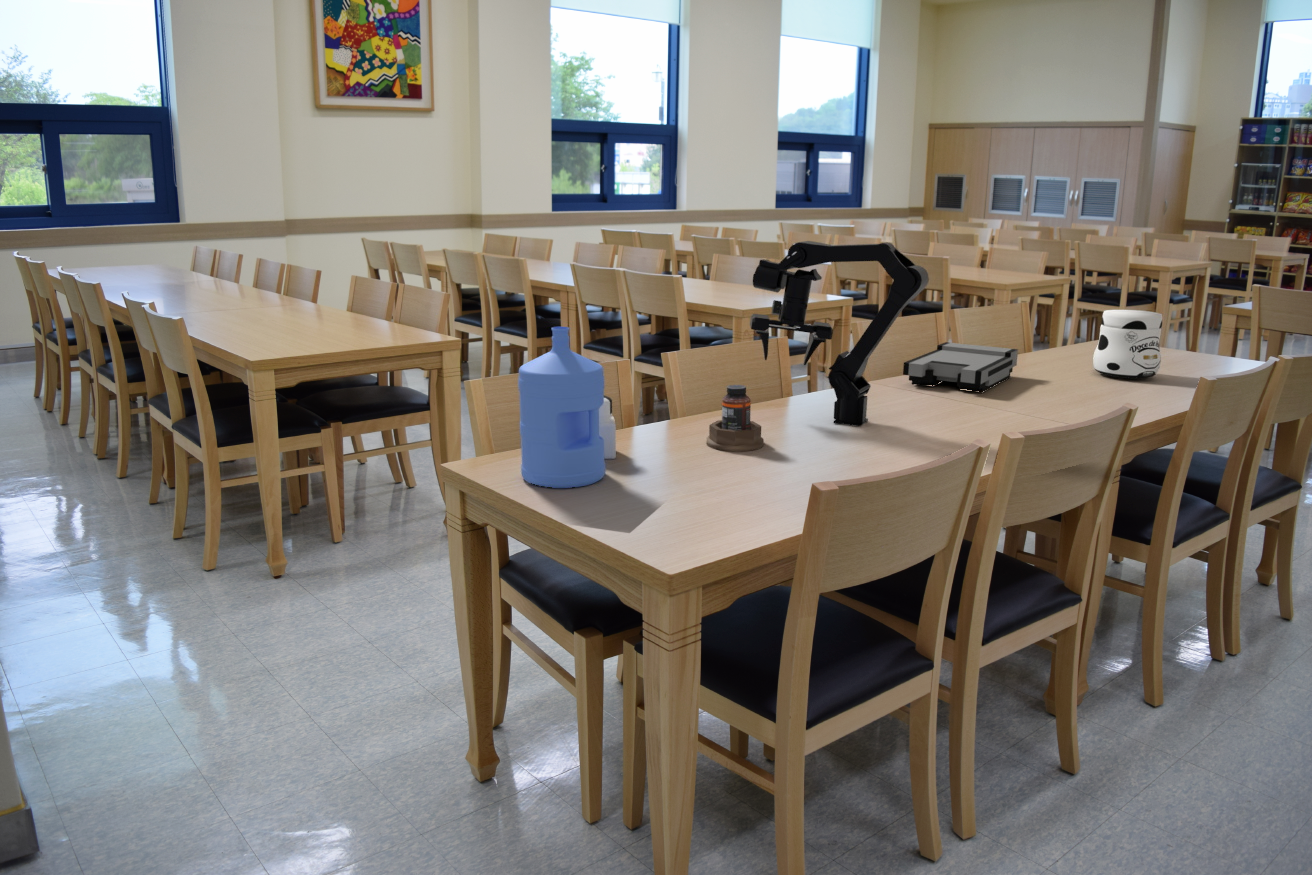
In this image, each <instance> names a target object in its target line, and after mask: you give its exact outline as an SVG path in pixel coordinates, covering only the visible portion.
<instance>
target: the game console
mask: <svg viewBox="0 0 1312 875" xmlns="http://www.w3.org/2000/svg"><path fill="white" fill-rule="evenodd" d="M1018 355H1019V348H1018V349H1017V348H1007V347H1000V346H999V347H998V346H997V347H996V346H987V345H977V344H965V343H958V342H957V343H956V342H947V341H945V342H942V343H939V344H938V345H937V346H936V349H935V350H932V351H930V352H926V353H924V354H922V355H920V356H917V357H914V358H912V359H909V360H907V361H904V362H903V367H902V368H903V370H902V375H903V376H908V381H911V384H912V385H914V384H919V385H918V386H922V385H932V386H933V385H936V384H938V383H939V382H941V381H945V382H952V383H956V387H958V388H959V390H960V389H967V390H972V391H979V392H983V391H985V390H987V389H989V388H990V387H993V386H994V385H996V384H998V383H999V382H1002V381H1004V380H1005V381H1007V380H1008V379H1007V378H1009V377H1011V373H1012V372H1013V370H1014V369H1013V368H1014V367H1017V366H1018ZM1006 379H1007V380H1006ZM1009 379H1010V378H1009ZM1005 381H1004V382H1005ZM1002 383H1003V382H1002ZM938 385H939V384H938ZM998 385H999V384H998ZM936 386H937V385H936ZM996 386H997V385H996ZM994 387H995V386H994ZM994 387H993V388H994ZM989 390H990V389H989ZM987 391H988V390H987ZM985 392H986V391H985ZM983 393H984V392H983Z"/></svg>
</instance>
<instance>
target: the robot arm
mask: <svg viewBox="0 0 1312 875" xmlns="http://www.w3.org/2000/svg"><path fill="white" fill-rule="evenodd" d="M848 262H849V263H850V262H852V263H853V262H854V263H855V262H878V263H879V264H880V265H881V267H882V268H883V269H884V271H885V273H887V275H888V276H889V277H890V278H891V279H892V282H891V285H890V288H889V291H888V294H887V297H886V300H885V301H884V303H883V304H882V306H881V307H880V309H879V311H878V312H877V313H876V315H875V316H874V318H873V319H872V321H871V322H870V323H869V325H868V326H867V328H866V329H865V331H864V332H863V334H862V335H861V336H860V338H859V340H858V341H857V342H856V344H855V345H854V347H853V348H852V350H850V352H849V350H845V351H843V352H841V353H839V354H838V355H837V357H836V359H835V361H834V363H833V364H832V365H831V366H830V367H828V370H829V373H828V376H827V378H828V379H827V380H828V383H829V385H830V386H831V388H833V390H834V394H835V397H836V400H835V401H834V403H833V405H834V408H833V422H832V423H833V424H837V425H845V426H854V427H862V426H864V425H865V424H866V423H867V422H868V421H869V418H867V410H868V409H867V408H868V395H867V394H868V393H869V391H870V389H871V388H872V387H871V384H870V383H869V382H868V381H867V380H866V379H865V377H864V376H863V375H864V372H865V370H866V367H867V365H868V360H870V359H869V358H870V357H871V355H872V354H873V353H874V351H875V350H876V348H877V347H878V345H879V344H880V342H881V341H882V340H883V339H884V337H885V335H886V334H887V332H888V331H889V330H890V328H891V327H892V325H893V324H894V323H895V321H896V319H897V318H898V317H899V315H900V314H901V312H903V309H904V308H905V307H907V305H908V304H910V303H911V302H912V301H913V300H914V299H915V298H916V297H917V296H918V295H919V294H920V293H922V291H924V290H925V288H926V287H927V286H928V284H929V280H930V278H929V273H928V272H927V270H926V269H925V268H924V267H923V266H921V265H916V263H914V262H913V261H912V260H911V259H910V258H909V257H907V256H906V255H904V254H903V253H902V252H901V251H900V250H899V249H897V248H896V247H895V245H894V244H893V243H891V242H886V241H885V242H881V243H880V242H879V243H864V244H863V243H862V244H861V243H859V244H858V243H857V244H856V243H855V244H829V243H823V242H820V241H819V242H817V241H811V240H805V241H799V242H794V243H793V244H792V245H791V246H790V247H789V248H788V251H787V255H786V256H785V257H783V259H782V260H781V261H780V262H776V261H775V262H774V261H771V260H769V259H766V258H765V259H764V258H762V259H760V260H759V263H758V265H757V266H756V269H755V271H754V273H753V276H752V286H753V288H755V289H758V290H764V291H767V292H768V291H769V292H773V293H776V294H777V293H779V292H780V291H781V290H784V292H783V293H784V294H783V297H782V301H781V300H774V299H773V301H772V307H771V315H774V316H778V317H777V318H778V320H777V319H770V317H769V315H767V314H760V313H752V314H751V316H750V318H749V319H750V321H749V326H750V330H752V331H755V334H757V335H760V338H761V342H762V344H761V345H762V349H763V350H762V351H763V358H764V361H767V360H768V356H769V339H770V332H769V328H770V329H771V328H772V329H776V330H777V329H779V330H784V331H785V330H786V331H793V332H799V333H800V332H801V333H809V341H808V344H807V347H806V351H805V354H804V358H803V366H806V365H807V363H808V362H809V360H810V359H811V357H812V355H813V353H814V352H815V351H816V349H818V347H819V346H820V345H821V343H826V340H832V339H833V334H834V329H833V327H832V326H831V325H830V323H829V322H821V321H813V324H808V323H805V322H806V315H807V311H808V305H809V299H810V293H811V287H812V282H817V281H821V280H822V278H823V277H822V276H821V274H820V273H819V272H818V271H817V269H816V268H813V269H811V270H810V271H809V270H804V269H803V268H807V267H813V266H817V265H823V264H826V263H848ZM792 269H797V270H796V271H795V272H794V271H789V270H792Z"/></svg>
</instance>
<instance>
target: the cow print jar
mask: <svg viewBox="0 0 1312 875" xmlns="http://www.w3.org/2000/svg"><path fill="white" fill-rule="evenodd" d="M1100 324H1101V325H1100V328H1099V339H1098V343H1097V346H1096V348H1095V349H1094V353H1093V356H1092V358H1093V359H1092V362H1093V363H1092V364H1093V365H1092V366H1093V368H1094V370H1095V371H1096V372H1097V373H1099V374H1102V375H1105V376H1107V377H1113V378H1120V379H1129V380H1130V379H1133V380H1134V379H1136V380H1138V379H1147V378H1151V377H1154V376H1156V375H1157V373H1158V372H1159V370H1160V368H1161V362H1162V355H1161V350H1160V345H1161V344H1160V342H1161V337H1162V326H1163V314H1162V313H1159V312H1155V311H1148V310H1139V309H1106V310H1103V313H1102V317H1101V323H1100Z"/></svg>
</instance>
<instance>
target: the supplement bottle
mask: <svg viewBox="0 0 1312 875" xmlns="http://www.w3.org/2000/svg"><path fill="white" fill-rule="evenodd" d="M726 393H727V394H726V395H724V397H723V396H722V397H723V398H722V401H721V402H722V403H721V404H722V405H721V408H722V409H721V410H722V411H721V420H722V429H727V430H735V431H737V430H749V429H750V421H751V409H752V408H751V403H752V402H751V398H750V396H748V395H747V386H745V385H744V384H743V385H742V384H729V385H727V386H726Z"/></svg>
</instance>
